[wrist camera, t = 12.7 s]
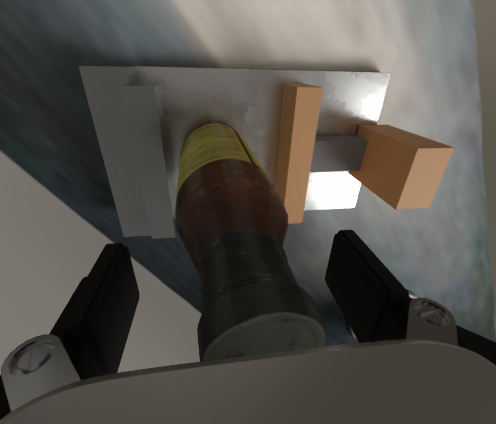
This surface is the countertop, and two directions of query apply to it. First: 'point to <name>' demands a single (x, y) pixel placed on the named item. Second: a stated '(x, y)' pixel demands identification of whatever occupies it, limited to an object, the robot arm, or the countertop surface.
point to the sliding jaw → (353, 156)
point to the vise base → (207, 111)
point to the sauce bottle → (239, 250)
